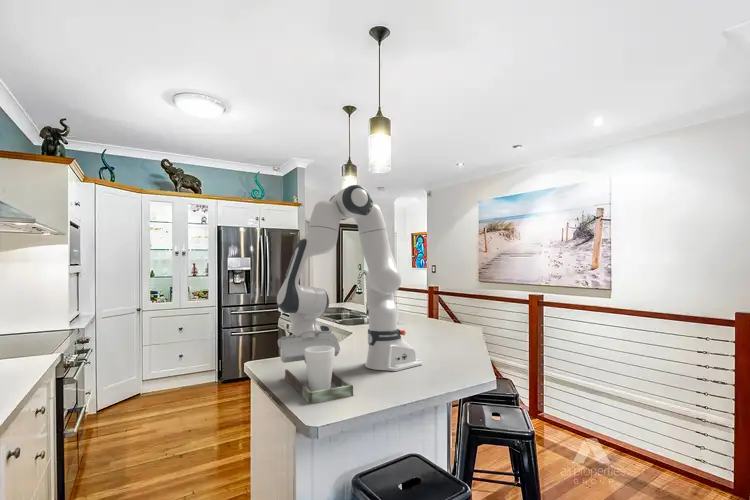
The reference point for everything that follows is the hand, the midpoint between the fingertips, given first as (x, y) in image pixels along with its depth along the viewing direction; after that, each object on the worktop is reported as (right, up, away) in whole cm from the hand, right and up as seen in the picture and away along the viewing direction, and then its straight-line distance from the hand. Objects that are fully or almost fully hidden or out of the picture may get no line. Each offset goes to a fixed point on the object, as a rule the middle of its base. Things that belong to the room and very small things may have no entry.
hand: (315, 369), depth 124 cm
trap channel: (+1, -5, -1) cm, 5 cm away
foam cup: (+2, -5, -5) cm, 8 cm away
